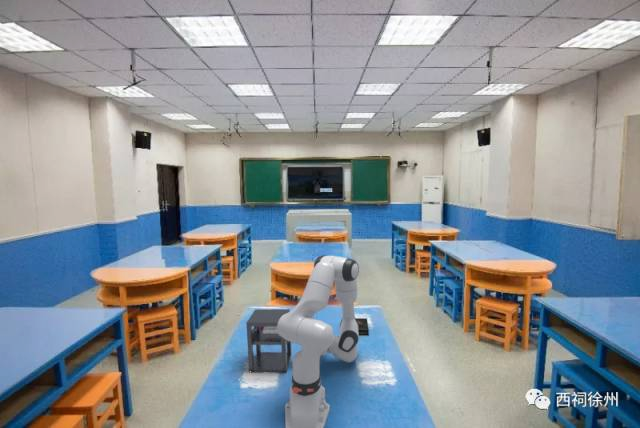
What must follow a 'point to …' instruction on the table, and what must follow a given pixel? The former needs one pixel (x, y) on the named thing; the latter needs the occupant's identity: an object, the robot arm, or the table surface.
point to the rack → (267, 342)
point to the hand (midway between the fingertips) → (303, 328)
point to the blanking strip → (270, 330)
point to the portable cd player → (363, 326)
